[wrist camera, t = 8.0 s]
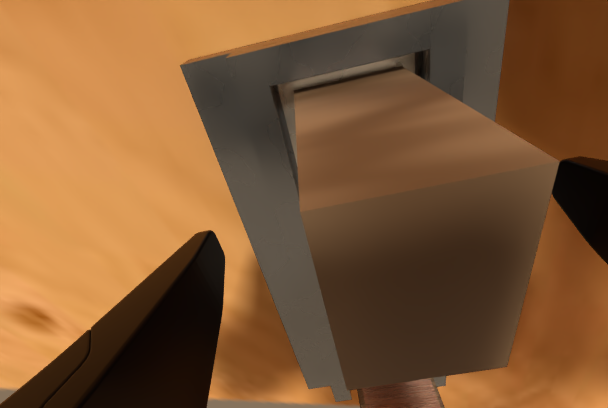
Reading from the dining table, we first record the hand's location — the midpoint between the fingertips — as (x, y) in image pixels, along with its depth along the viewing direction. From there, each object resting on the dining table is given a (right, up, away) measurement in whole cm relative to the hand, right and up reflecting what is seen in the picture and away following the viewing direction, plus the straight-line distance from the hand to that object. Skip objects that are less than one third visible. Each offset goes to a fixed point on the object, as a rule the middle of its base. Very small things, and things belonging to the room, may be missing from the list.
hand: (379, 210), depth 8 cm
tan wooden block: (0, +2, +3) cm, 4 cm away
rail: (+1, -2, +7) cm, 8 cm away
